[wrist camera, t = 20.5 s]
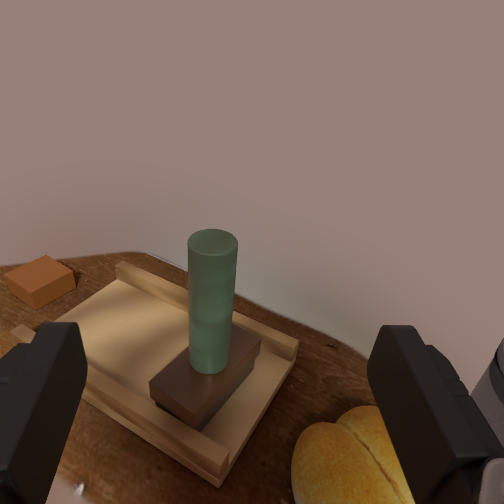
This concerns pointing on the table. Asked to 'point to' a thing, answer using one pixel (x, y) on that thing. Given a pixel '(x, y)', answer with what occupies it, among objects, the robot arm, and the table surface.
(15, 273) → the brown block
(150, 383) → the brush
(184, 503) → the table surface
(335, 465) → the bread roll
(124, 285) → the tray
